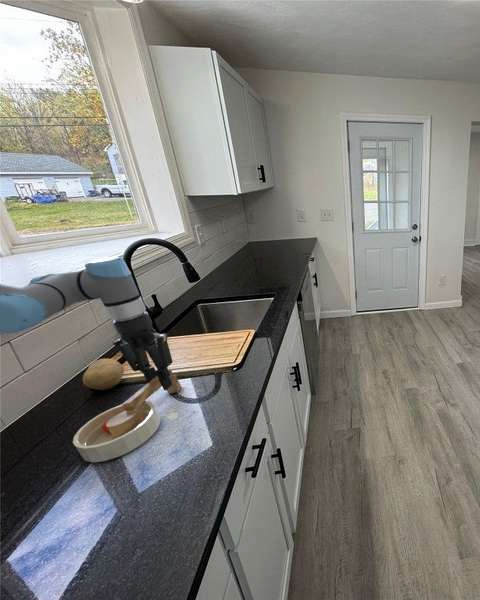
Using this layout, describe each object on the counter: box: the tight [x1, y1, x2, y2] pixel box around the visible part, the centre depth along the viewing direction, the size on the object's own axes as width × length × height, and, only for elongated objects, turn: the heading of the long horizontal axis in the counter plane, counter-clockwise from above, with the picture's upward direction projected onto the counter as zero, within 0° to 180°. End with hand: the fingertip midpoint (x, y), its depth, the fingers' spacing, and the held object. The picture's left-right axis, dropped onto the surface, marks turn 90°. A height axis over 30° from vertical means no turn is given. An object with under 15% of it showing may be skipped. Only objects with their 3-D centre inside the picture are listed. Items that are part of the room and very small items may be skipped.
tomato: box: [103, 419, 110, 433], centre depth 80 cm, size 4×4×4 cm
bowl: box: [72, 400, 161, 463], centre depth 78 cm, size 16×16×5 cm
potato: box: [82, 358, 125, 391], centre depth 99 cm, size 10×14×8 cm
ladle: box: [106, 368, 183, 439], centre depth 85 cm, size 22×6×7 cm, turn 3°
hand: (163, 387), depth 92 cm, fingers closed on ladle, 2 cm apart
